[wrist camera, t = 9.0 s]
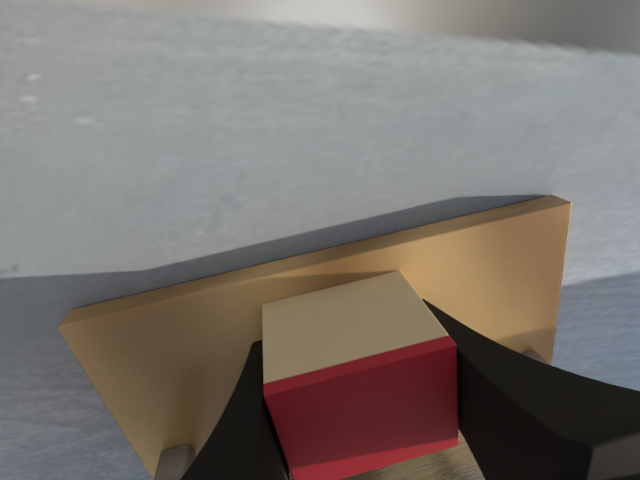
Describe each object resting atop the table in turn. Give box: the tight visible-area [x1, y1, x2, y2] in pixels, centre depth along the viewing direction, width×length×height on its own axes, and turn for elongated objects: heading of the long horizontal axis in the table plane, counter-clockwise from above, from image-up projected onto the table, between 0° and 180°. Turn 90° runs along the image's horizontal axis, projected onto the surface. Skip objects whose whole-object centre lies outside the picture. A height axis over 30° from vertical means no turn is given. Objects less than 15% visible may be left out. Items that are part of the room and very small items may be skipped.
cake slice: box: [262, 271, 459, 480], centre depth 11 cm, size 5×4×4 cm
